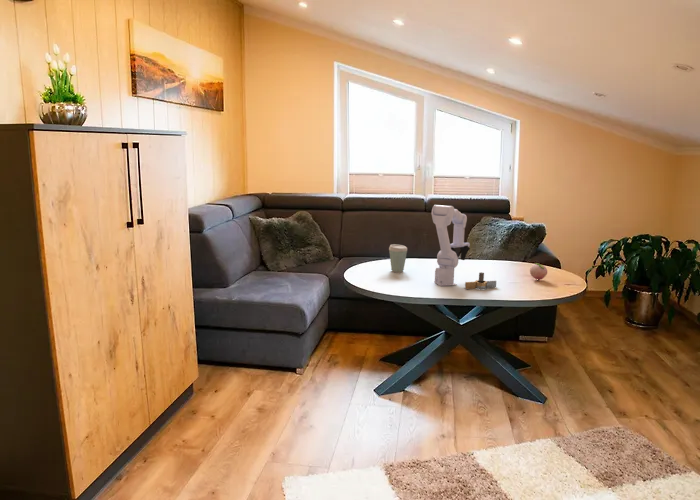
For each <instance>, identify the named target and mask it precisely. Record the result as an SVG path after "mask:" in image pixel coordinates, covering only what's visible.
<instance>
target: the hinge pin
mask: <svg viewBox="0 0 700 500" xmlns="http://www.w3.org/2000/svg"><path fill="white" fill-rule="evenodd" d="M484 279H485V273H484V272H479V273H478V280H479V282H481V283H483V282H484V281H485V280H484Z"/></svg>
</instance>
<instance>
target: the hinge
mask: <svg viewBox="0 0 700 500" xmlns="http://www.w3.org/2000/svg"><path fill="white" fill-rule="evenodd" d="M464 286H465V287H464V289H465V290H473V289H474V290H479V289H480V291H481V290H482V291H484V290H487V289H494V288H495V287H496V288H497V280H484V282H483V283H481V282H479V279H476V280H475V281H465V284H464Z"/></svg>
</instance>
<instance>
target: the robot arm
mask: <svg viewBox="0 0 700 500" xmlns="http://www.w3.org/2000/svg"><path fill="white" fill-rule="evenodd" d="M430 214H431V218H432V219H431V220H432V223H433V224H434V225H435V228H436V234H437V238H438V243H439V247H440V248H439V249H440V250H439V251H438V253H437V255H436V263H437V265H438V267H435V270H434V281H433V282H434V283H435V284H436V285H437V286H440V287H442V286H457V283H456V282H455V281H454V280H455V269H456V268H457V266H458V264H459V257H458V255H457V253H456V249H455V248H460V260H462V261H465V260H466V256H467V253H468V252H469V250H470V246H471V244H470V242H465V229H466V226H467V221H468V218H467V215H466V214H465V213H461V211H459V210H458V209H457V208H455V207H454V206H453V205H441V204H434V205H433V206H432V209H431V213H430ZM451 224H453V232H452V233H453V234H452V235H453V237H452V243H450V238H449V230H448V226H450V225H451Z"/></svg>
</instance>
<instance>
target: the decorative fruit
mask: <svg viewBox="0 0 700 500" xmlns="http://www.w3.org/2000/svg"><path fill="white" fill-rule="evenodd" d="M540 263H541V262H539V263H537V262H535V263H534V264H533V265H532V266H530V269H529V274H530V275H531V277H532V278H534V279H536V280H537V279H538V280H537V281H540V280H542V279H544V278H545V277H547V275H548V269H547V267H546V266H545V265H543V264H540Z"/></svg>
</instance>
